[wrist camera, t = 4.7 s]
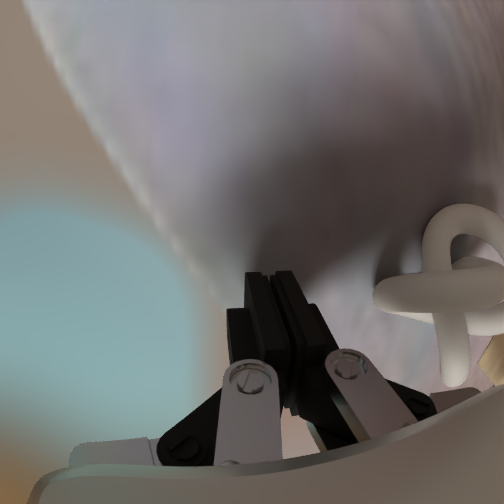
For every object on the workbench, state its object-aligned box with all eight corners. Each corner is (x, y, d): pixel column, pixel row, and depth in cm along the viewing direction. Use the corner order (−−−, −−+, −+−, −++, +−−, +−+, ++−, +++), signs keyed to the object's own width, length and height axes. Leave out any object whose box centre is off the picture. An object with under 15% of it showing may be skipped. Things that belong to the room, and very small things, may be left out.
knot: (468, 295, 15) (522, 348, 10) (368, 350, 15) (413, 429, 10) (474, 186, 11) (558, 229, 6) (351, 238, 12) (435, 324, 6)
